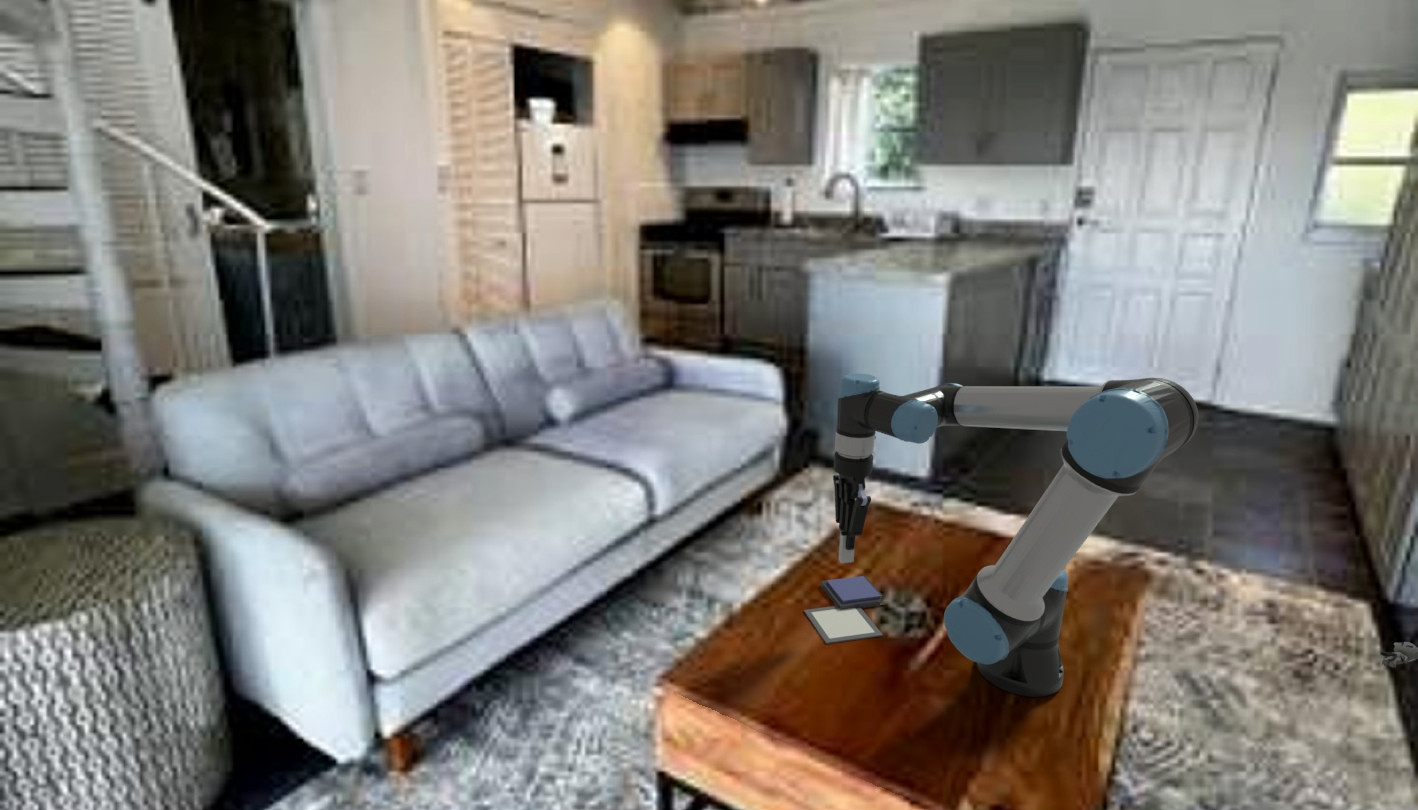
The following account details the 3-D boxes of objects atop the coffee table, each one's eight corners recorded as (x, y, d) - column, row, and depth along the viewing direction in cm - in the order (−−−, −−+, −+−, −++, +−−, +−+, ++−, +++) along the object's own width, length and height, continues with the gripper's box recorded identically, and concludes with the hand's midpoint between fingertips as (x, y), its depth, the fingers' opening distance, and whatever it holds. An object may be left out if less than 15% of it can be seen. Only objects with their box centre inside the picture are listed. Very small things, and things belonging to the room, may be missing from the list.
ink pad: (886, 604, 166) (887, 597, 165) (840, 611, 163) (840, 603, 163) (864, 580, 176) (865, 573, 176) (820, 585, 174) (821, 578, 173)
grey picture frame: (882, 635, 155) (882, 634, 154) (826, 644, 152) (826, 642, 151) (856, 604, 166) (856, 603, 166) (803, 611, 163) (803, 610, 163)
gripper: (887, 462, 143) (877, 574, 150) (857, 440, 155) (849, 544, 162) (850, 465, 141) (841, 578, 148) (823, 443, 153) (816, 548, 160)
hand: (845, 560), depth 155 cm, fingers closed
